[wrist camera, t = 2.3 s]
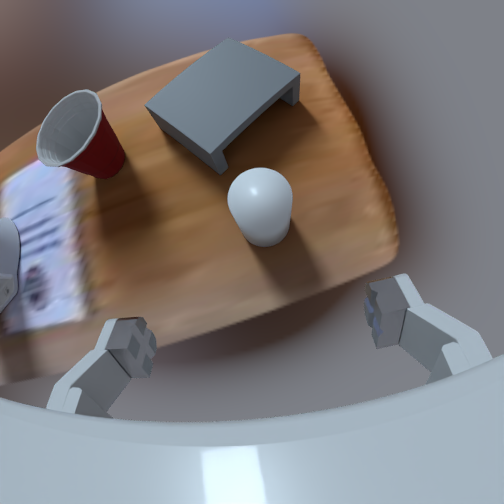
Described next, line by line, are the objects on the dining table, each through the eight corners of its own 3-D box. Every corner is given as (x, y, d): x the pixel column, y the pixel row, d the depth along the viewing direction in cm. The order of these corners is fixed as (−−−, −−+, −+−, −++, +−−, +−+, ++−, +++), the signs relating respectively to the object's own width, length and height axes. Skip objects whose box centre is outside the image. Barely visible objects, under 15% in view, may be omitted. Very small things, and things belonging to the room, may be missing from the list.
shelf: (220, 175, 38) (210, 153, 33) (159, 127, 41) (144, 105, 35) (299, 100, 39) (300, 73, 34) (234, 63, 42) (228, 37, 36)
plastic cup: (75, 200, 41) (24, 171, 29) (88, 139, 42) (47, 101, 31) (134, 193, 39) (88, 156, 28) (145, 127, 41) (109, 80, 30)
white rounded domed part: (266, 257, 36) (262, 242, 27) (229, 225, 37) (214, 200, 28) (299, 220, 36) (305, 193, 28) (262, 189, 38) (257, 156, 29)
